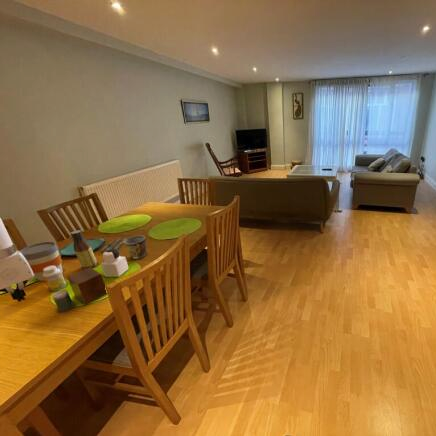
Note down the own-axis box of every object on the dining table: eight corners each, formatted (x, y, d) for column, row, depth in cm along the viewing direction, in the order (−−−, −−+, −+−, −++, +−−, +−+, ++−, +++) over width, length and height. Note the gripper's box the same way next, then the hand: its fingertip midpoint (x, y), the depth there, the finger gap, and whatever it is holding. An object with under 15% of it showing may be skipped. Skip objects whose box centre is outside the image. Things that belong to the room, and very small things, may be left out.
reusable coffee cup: (24, 281, 111) (9, 253, 105) (53, 266, 122) (41, 240, 116) (47, 284, 109) (34, 255, 103) (74, 268, 120) (63, 242, 115)
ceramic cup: (126, 255, 132) (121, 239, 128) (146, 249, 138) (142, 233, 134) (132, 265, 123) (127, 248, 119) (153, 257, 130) (149, 241, 126)
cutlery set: (75, 242, 146) (73, 239, 145) (129, 238, 151) (128, 235, 150) (51, 260, 128) (49, 256, 127) (113, 254, 133) (112, 250, 132)
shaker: (69, 314, 95) (46, 310, 88) (64, 310, 97) (41, 306, 90) (83, 295, 98) (61, 290, 91) (78, 291, 100) (56, 286, 93)
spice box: (86, 304, 97) (77, 284, 93) (75, 296, 101) (66, 276, 98) (108, 293, 103) (101, 273, 99) (96, 285, 108) (89, 267, 104)
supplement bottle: (52, 285, 108) (43, 266, 104) (68, 281, 110) (60, 263, 107) (47, 292, 103) (38, 273, 100) (64, 289, 106) (55, 269, 102)
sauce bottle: (92, 261, 126) (80, 227, 119) (100, 264, 124) (88, 229, 116) (78, 268, 120) (64, 233, 113) (86, 271, 118) (72, 235, 111)
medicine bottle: (115, 268, 121) (108, 247, 116) (129, 268, 120) (122, 247, 116) (104, 276, 114) (96, 255, 109) (119, 277, 114) (111, 255, 109)
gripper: (-37, 267, 69) (-9, 317, 76) (34, 246, 81) (53, 291, 88) (-43, 260, 72) (-16, 308, 79) (26, 241, 85) (45, 284, 91)
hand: (20, 299), depth 83 cm, fingers closed
